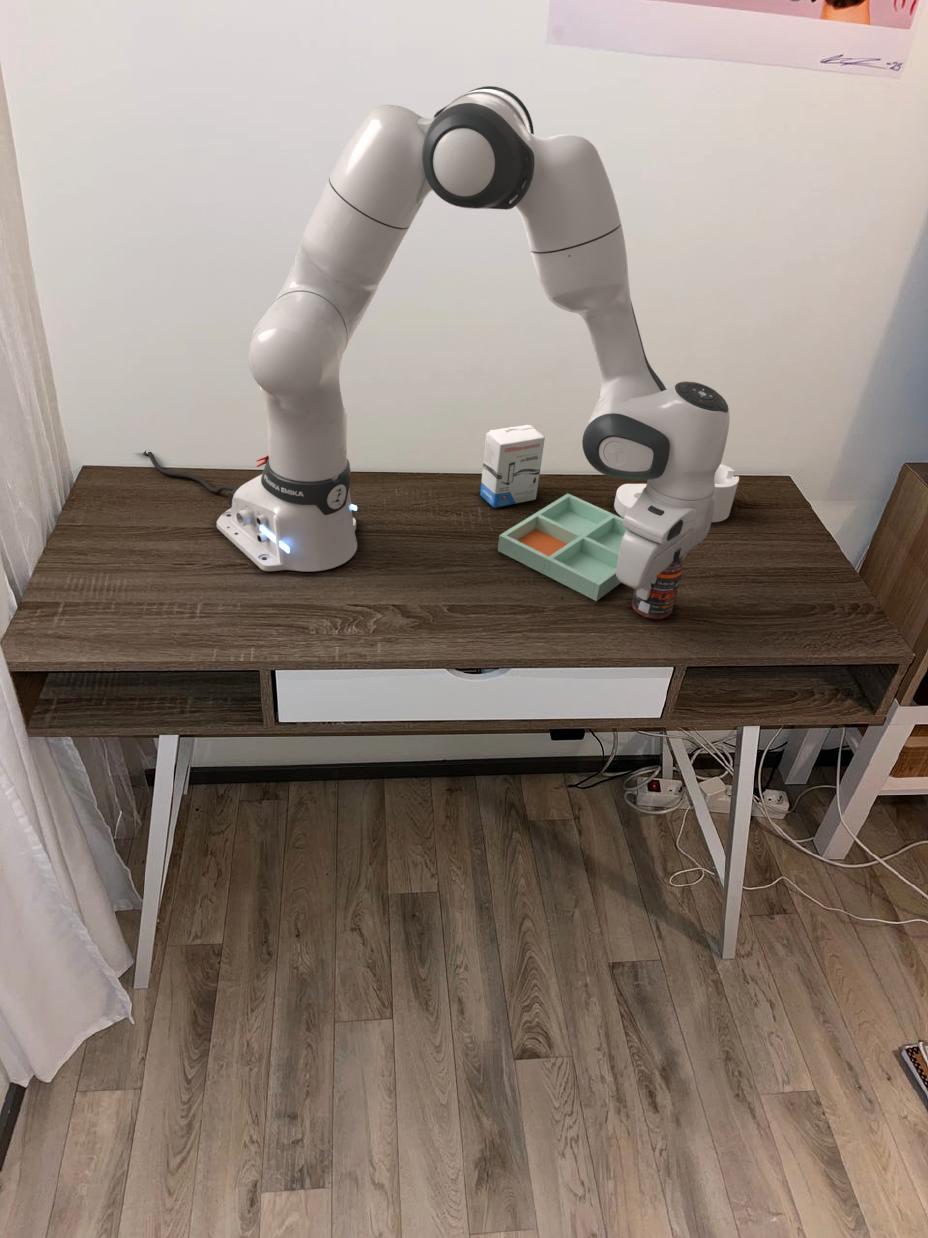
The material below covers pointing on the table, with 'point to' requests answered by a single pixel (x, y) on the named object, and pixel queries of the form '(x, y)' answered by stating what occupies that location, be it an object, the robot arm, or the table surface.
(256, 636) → the table surface
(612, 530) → the organiser
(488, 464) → the ink box
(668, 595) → the supplement bottle
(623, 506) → the bracket
